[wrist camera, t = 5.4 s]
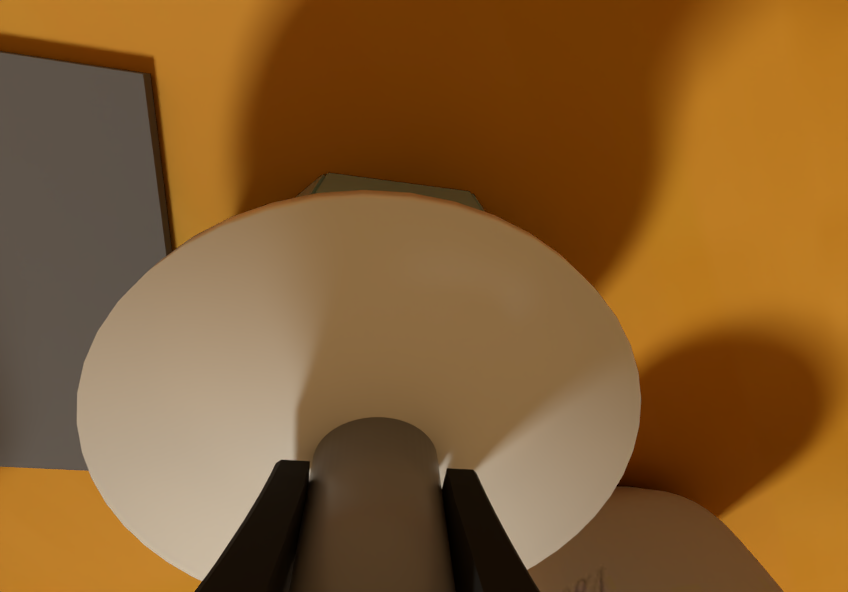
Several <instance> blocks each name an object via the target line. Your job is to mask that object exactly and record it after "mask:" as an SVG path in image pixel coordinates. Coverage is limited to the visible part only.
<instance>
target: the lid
mask: <svg viewBox="0 0 848 592" xmlns="http://www.w3.org/2000/svg"><path fill="white" fill-rule="evenodd" d="M640 409H641V393H640V383H639V373H638V369H637V366H636V362H635V359H634V356H633V352H632V349H631V345H630V343H629V341H628V339H627V337H626V335H625V333H624V331H623V329H622V327H621V325H620V323H619V321H618V319H617V317H616V316H615V314H614V313H613V312H612V310H611V309H610V308H609V306H608V305H607V304H606V302H605V301H604V300H603V298H602V297H601V296H600V294H599V293H598V291H597V290H596V289H595V288H594V287H593V286H592V285H591V284H590V283H589V282H588V281H587V280H586V279H585V278H584V277H583V276H582V275H581V274H580V273H579V272H578V271H577V270H576V269H575V268H574V267H573V266H572V265H571V264H570V263H569V262H568V261H567V260H566V259H565V258H564V257H563V256H562V255H561V254H559V253H558V252H556V251H555V250H554V249H552V248H551V247H549V246H548V245H546V244H545V243H544V242H542V241H541V240H539V239H538V238H536V237H535V236H534V235H532V234H531V233H529V232H527V231H525V230H523V229H521V228H519V227H517V226H515V225H513V224H511V223H509V222H507V221H505V220H503V219H501V218H499V217H497V216H495V215H493V214H490V213H487V212H484V211H481V210H478V209H475V208H472V207H469V206H466V205H463V204H461V203H458V202H455V201H450V200H445V199H440V198H435V197H430V196H424V195H419V194H414V193H406V192H390V191H374V190H356V191H341V192H327V193H316V194H311V195H306V196H301V197H296V198H292V199H287V200H282V201H277V202H272V203H270V204H267V205H264V206H261V207H258V208H255V209H252V210H249V211H247V212H244V213H241V214H238V215H235V216H232V217H230V218H228V219H226V220H224V221H222V222H220V223H218V224H216V225H215V226H213V227H211V228H209V229H207V230H205V231H203V232H201V233H199V234H197V235H195V236H193V237H192V238H191V239H189V240H188V241H186V242H185V243H184V244H182V245H181V246H180V247H178V248H177V249H175V250H174V251H173V252H171V253H170V254H169V255H167V256H166V257H164V258H163V259H162V260H160V261H159V262H158V263H157V264H156V265H155V266H153V267H152V268H151V269H150V270H149V271H148V272H147V273H146V274H145V275H144V276H143V277H142V278H141V279H140V280H139V281H138V282H137V283H136V284H135V285H134V286H133V287H132V288H131V289H130V290H129V291H128V292H127V293H126V294H125V295H124V296H123V297H122V298H121V299H120V300H119V301H118V302H117V304H116V305H115V307H114V308H113V309H112V311H111V312H110V314H109V315H108V317H107V318H106V320H105V321H104V323H103V324H102V326H101V327H100V328H99V330H98V331H97V334H96V336H95V338H94V340H93V343H92V345H91V347H90V350H89V352H88V354H87V357H86V359H85V361H84V364H83V369H82V374H81V378H80V383H79V387H78V392H77V428H78V433H79V439H80V444H81V450H82V454H83V456H84V459H85V462H86V464H87V467H88V470H89V472H90V475H91V478H92V480H93V482H94V483H95V485H96V487H97V488H98V490H99V492H100V494H101V495H102V497H103V499H104V500H105V502H106V504H107V505H108V506H109V507H110V509H111V510H112V511H113V512H114V514H115V515H116V516H117V517H118V519H119V520H120V521H121V522H122V524H123V525H124V526H125V527H126V528H127V529H128V530H129V531H130V532H131V533H132V534H133V535H135V536H136V537H137V538H138V539H139V540H140V541H141V542H142V543H143V544H144V545H145V546H147V547H148V548H149V549H151V550H152V551H153V552H155V553H156V554H157V555H159V556H160V557H161V558H163V559H164V560H165V561H167V562H168V563H170V564H172V565H173V566H175V567H177V568H178V569H180V570H182V571H184V572H185V573H187V574H189V575H190V576H192V577H194V578H197V579H199V580H201V581H203V580H204V578H205V577H206V575H207V574H208V573H209V571H210V570H211V569H212V567H213V566H214V564H215V563H216V561H217V560H218V559H219V557H220V556H221V554H222V553H223V551H224V550H225V548H226V547H227V545H228V544H229V542H230V541H231V539H232V537H233V536H234V534H235V533H236V531H237V530H238V528H239V527H240V525H241V524H242V522H243V521H244V519H245V518H246V516H247V514H248V513H249V511H250V509H251V508H252V506H253V504H254V503H255V501H256V499H257V498H258V496H259V494H260V493H261V491H262V489H263V487H264V485H265V483H266V482H267V480H268V478H269V476H270V474H271V472H272V470H273V468H274V466H275V464H276V463H277V462H278V461H280V460H298V461H310V468H309V484H308V490H307V495H306V500H305V506H304V511H303V516H302V521H301V527H300V532H299V538H298V543H297V549H296V554H295V560H294V566H293V571H292V577H291V582H290V588H289V592H456V589H455V582H454V575H453V567H452V560H451V553H450V546H449V538H448V531H447V524H446V516H445V509H444V502H443V494H442V486H443V482H444V478H445V474H446V470H447V468H452V469H472V470H474V471H475V472H476V473H477V475H478V478H479V480H480V482H481V484H482V486H483V488H484V490H485V493H486V495H487V497H488V499H489V501H490V503H491V505H492V507H493V509H494V511H495V513H496V515H497V517H498V518H499V520H500V522H501V524H502V526H503V528H504V530H505V532H506V534H507V535H508V537H509V539H510V541H511V543H512V545H513V546H514V548H515V550H516V552H517V553H518V555H519V557H520V558H521V560H522V562H523V564H524V565H525V567H526V569H527V570H528V569H529V568H531V567H533V566H535V565H537V564H538V563H539V562H541V561H542V560H544V559H545V558H547V557H548V556H550V555H551V554H553V553H554V552H556V551H557V550H559V549H560V548H561V547H562V546H563V545H565V544H566V543H567V542H568V541H570V540H571V539H572V538H573V537H574V536H576V535H577V534H578V533H579V532H580V531H581V530H582V529H583V528H584V527H585V526H586V525H587V524H588V523H589V522H590V521H591V520H592V519H593V518H594V517H595V515H596V514H597V513H598V512H599V510H600V509H601V508H602V506H603V505H604V504H605V503H606V501H607V500H608V499H609V497H610V496H611V495H612V493H613V491H614V489H615V488H616V486H617V484H618V483H619V481H620V479H621V478H622V476H623V474H624V472H625V469H626V467H627V465H628V462H629V460H630V457H631V455H632V452H633V450H634V445H635V441H636V437H637V433H638V429H639V423H640Z"/></svg>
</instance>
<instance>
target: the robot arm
mask: <svg viewBox="0 0 848 592" xmlns="http://www.w3.org/2000/svg"><path fill="white" fill-rule="evenodd" d="M309 468H310V461H298V460H280V461H278V462H277V463H276V464H275V466H274V468H273V470H272V472H271V474H270V476H269V478H268V480H267V482H266V483H265V485H264V487H263V489H262V491H261V493H260V494H259V496H258V498H257V499H256V501H255V503H254V504H253V506H252V508H251V509H250V511H249V513H248V514H247V516H246V518H245V519H244V521H243V522H242V524H241V525H240V527H239V528H238V530H237V531H236V533H235V534H234V536H233V537H232V539H231V541H230V542H229V544H228V545H227V547H226V548H225V550H224V551H223V553H222V554H221V556H220V557H219V559H218V560H217V561H216V563H215V564H214V566H213V567H212V569H211V570H210V571H209V573H208V574H207V575H206V577H205V578H204V580H203V581H202V582H201V584H200V585H199V586H198V588H197V589H196V590H195V592H289V588H290V582H291V577H292V571H293V566H294V560H295V554H296V549H297V543H298V538H299V532H300V527H301V521H302V516H303V511H304V506H305V500H306V495H307V490H308V484H309ZM442 494H443V502H444V509H445V516H446V524H447V531H448V538H449V546H450V553H451V560H452V567H453V575H454V582H455V589H456V592H540V591H539V589H538V587H537V586H536V584H535V582H534V581H533V579H532V577H531V576H530V574H529V572H528V571H527V569H526V567H525V565H524V564H523V562H522V560H521V558H520V557H519V555H518V553H517V552H516V550H515V548H514V546H513V545H512V543H511V541H510V539H509V537H508V535H507V534H506V532H505V530H504V528H503V526H502V524H501V522H500V520H499V518H498V517H497V515H496V513H495V511H494V509H493V507H492V505H491V503H490V501H489V499H488V497H487V495H486V493H485V490H484V488H483V486H482V484H481V482H480V480H479V478H478V475H477V473H476V472H475V471H474V470H472V469H452V468H447V470H446V474H445V478H444V482H443V486H442Z"/></svg>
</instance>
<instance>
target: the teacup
mask: <svg viewBox="0 0 848 592" xmlns="http://www.w3.org/2000/svg"><path fill="white" fill-rule="evenodd" d="M527 571H528V572H529V574H530V576H531V577H532V579H533V581H534V582H535V584H536V586H537V587H538V589H539V591H540V592H783V590H782V589H781V588H780V587H779V586H778V584H777V583H776V582H775V581H774V579H773V578H772V577H771V576H770V575H769V573H768V572H767V571H766V570H765V569H764V567H763V566H762V565H761V564H760V563H759V562H758V560H757V559H756V558H755V557H754V556H753V555H752V554H751V552H750V551H749V550H748V549H747V548H746V547H745V546H744V544H743V543H742V542H741V541H740V540H739V539H738V538H737V537H736V536H735V535H734V533H733V532H732V531H731V530H730V529H729V528H728V527H727V526H726V525H725V524H724V523H723V522H722V521H721V520H719V519H718V518H717V517H716V516H714V515H713V514H712V513H711V512H710V511H708V510H707V509H705V508H704V507H702V506H701V505H699V504H697V503H696V502H694V501H692V500H689V499H687V498H685V497H682V496H680V495H677V494H673V493H670V492H666V491H659V490H651V489H641V488H636V487H616V488H615V489H614V491H613V493H612V495H611V496H610V497H609V499H608V500H607V501H606V503H605V504H604V505H603V506H602V508H601V509H600V510H599V512H598V513H597V514H596V515H595V517H594V518H593V519H592V520H591V521H590V522H589V523H588V524H587V525H586V526H585V527H584V528H583V529H582V530H581V531H580V532H579V533H578V534H577V535H576V536H574V537H573V538H572V539H571V540H570V541H568V542H567V543H566V544H565V545H563V546H562V547H561V548H560V549H559V550H557V551H556V552H554V553H553V554H551V555H550V556H548V557H547V558H545V559H544V560H542V561H541V562H539V563H538V564H537V565H535V566H533V567H531V568H529V569H528V570H527Z"/></svg>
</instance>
